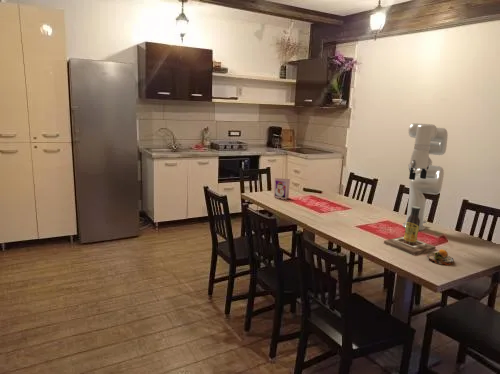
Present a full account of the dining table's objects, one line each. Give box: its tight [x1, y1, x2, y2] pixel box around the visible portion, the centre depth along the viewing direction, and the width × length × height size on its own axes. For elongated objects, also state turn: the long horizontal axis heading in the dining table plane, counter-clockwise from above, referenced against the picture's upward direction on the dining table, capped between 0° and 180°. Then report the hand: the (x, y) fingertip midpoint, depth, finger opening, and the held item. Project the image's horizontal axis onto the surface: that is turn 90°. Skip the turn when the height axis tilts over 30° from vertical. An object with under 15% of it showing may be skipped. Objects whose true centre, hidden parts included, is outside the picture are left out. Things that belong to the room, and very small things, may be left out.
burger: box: [426, 248, 454, 266], centre depth 183 cm, size 12×12×8 cm
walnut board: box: [383, 236, 436, 256], centre depth 200 cm, size 18×18×2 cm
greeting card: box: [273, 177, 291, 200], centre depth 291 cm, size 11×7×15 cm, turn 53°
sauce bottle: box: [403, 206, 420, 245], centre depth 198 cm, size 7×6×20 cm
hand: (417, 179), depth 209 cm, fingers open, 9 cm apart
